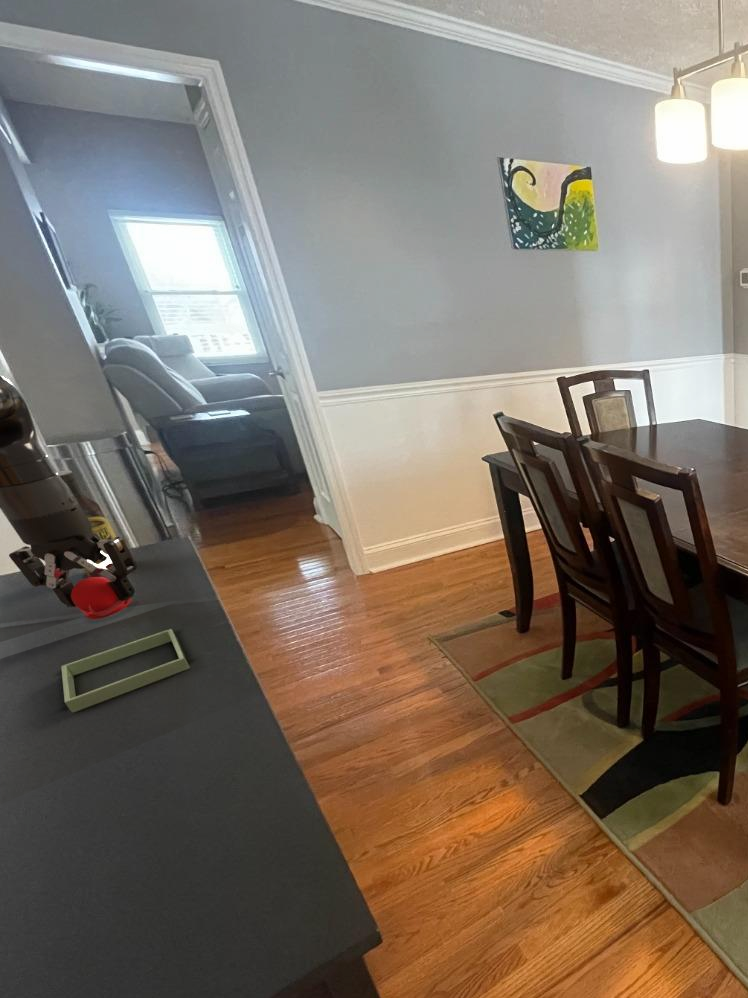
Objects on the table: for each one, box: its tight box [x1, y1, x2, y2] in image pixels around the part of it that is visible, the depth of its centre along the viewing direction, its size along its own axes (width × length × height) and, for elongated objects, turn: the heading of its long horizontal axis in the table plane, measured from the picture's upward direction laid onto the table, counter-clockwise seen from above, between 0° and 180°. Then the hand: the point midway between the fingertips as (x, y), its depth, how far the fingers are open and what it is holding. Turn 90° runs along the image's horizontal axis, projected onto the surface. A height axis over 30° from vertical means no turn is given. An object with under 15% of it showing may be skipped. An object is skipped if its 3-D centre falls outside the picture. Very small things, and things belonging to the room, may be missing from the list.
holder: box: [60, 628, 191, 714], centre depth 84 cm, size 12×12×2 cm
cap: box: [71, 576, 132, 620], centre depth 97 cm, size 8×6×6 cm
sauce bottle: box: [57, 470, 117, 578], centre depth 109 cm, size 6×6×20 cm
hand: (102, 601), depth 97 cm, fingers closed on cap, 6 cm apart
